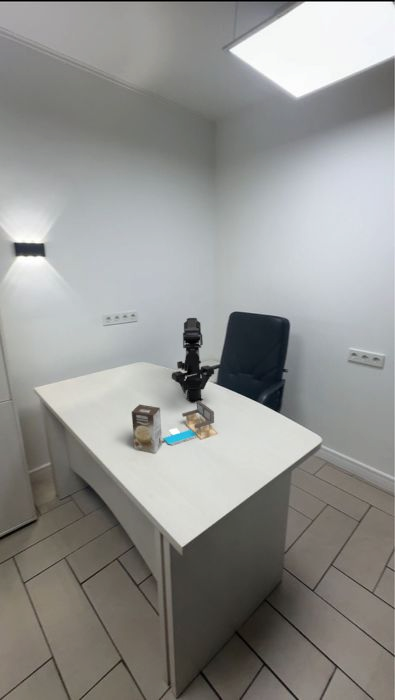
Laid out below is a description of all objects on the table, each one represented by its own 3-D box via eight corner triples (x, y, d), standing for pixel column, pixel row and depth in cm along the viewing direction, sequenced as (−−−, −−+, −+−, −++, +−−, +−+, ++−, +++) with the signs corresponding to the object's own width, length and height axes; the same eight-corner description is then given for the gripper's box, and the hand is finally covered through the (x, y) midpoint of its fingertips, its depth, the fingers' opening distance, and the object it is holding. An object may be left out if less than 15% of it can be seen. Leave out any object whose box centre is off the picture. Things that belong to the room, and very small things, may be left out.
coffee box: (133, 449, 117) (130, 411, 113) (142, 440, 123) (138, 404, 119) (155, 454, 114) (152, 414, 110) (163, 444, 120) (160, 407, 116)
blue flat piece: (193, 424, 136) (193, 420, 135) (206, 437, 126) (206, 433, 125) (150, 437, 126) (149, 433, 126) (161, 452, 116) (160, 448, 116)
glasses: (199, 411, 135) (199, 400, 134) (214, 422, 125) (213, 411, 124) (182, 415, 131) (181, 405, 130) (195, 428, 121) (195, 417, 120)
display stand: (200, 419, 138) (200, 409, 137) (217, 434, 126) (217, 423, 125) (184, 424, 134) (184, 414, 133) (200, 439, 123) (200, 428, 121)
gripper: (202, 350, 145) (203, 381, 150) (165, 357, 137) (167, 389, 141) (214, 356, 136) (215, 389, 140) (176, 363, 128) (177, 398, 132)
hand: (193, 391), depth 139 cm, fingers open, 9 cm apart
